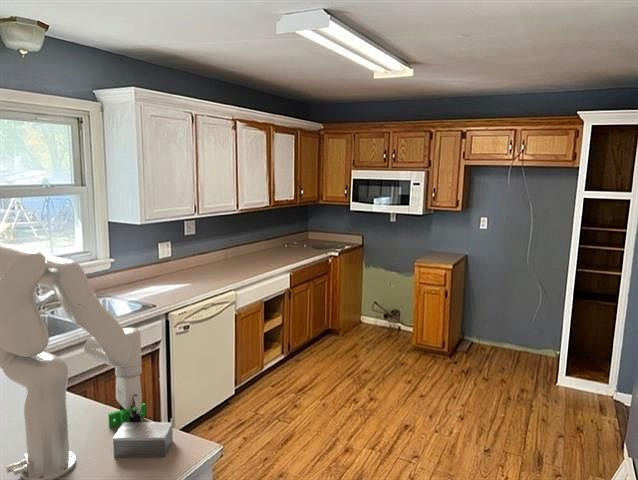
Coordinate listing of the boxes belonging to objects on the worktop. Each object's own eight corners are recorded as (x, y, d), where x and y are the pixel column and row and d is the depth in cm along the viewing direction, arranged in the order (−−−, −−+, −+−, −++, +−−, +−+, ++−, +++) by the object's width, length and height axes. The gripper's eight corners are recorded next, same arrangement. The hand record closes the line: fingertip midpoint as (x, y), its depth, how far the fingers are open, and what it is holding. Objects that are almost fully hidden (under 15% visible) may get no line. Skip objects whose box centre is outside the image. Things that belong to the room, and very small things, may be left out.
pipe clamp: (112, 432, 142) (112, 418, 141) (108, 427, 145) (108, 413, 144) (149, 420, 149) (148, 407, 148) (145, 415, 152) (144, 402, 151)
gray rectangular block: (114, 457, 129) (113, 437, 129) (124, 441, 137) (123, 422, 136) (165, 457, 130) (164, 437, 129) (172, 441, 138) (172, 422, 137)
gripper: (106, 362, 147) (108, 414, 150) (125, 381, 134) (128, 438, 137) (130, 356, 152) (132, 407, 155) (151, 374, 139) (153, 429, 142)
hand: (130, 421), depth 146 cm, fingers open, 7 cm apart
